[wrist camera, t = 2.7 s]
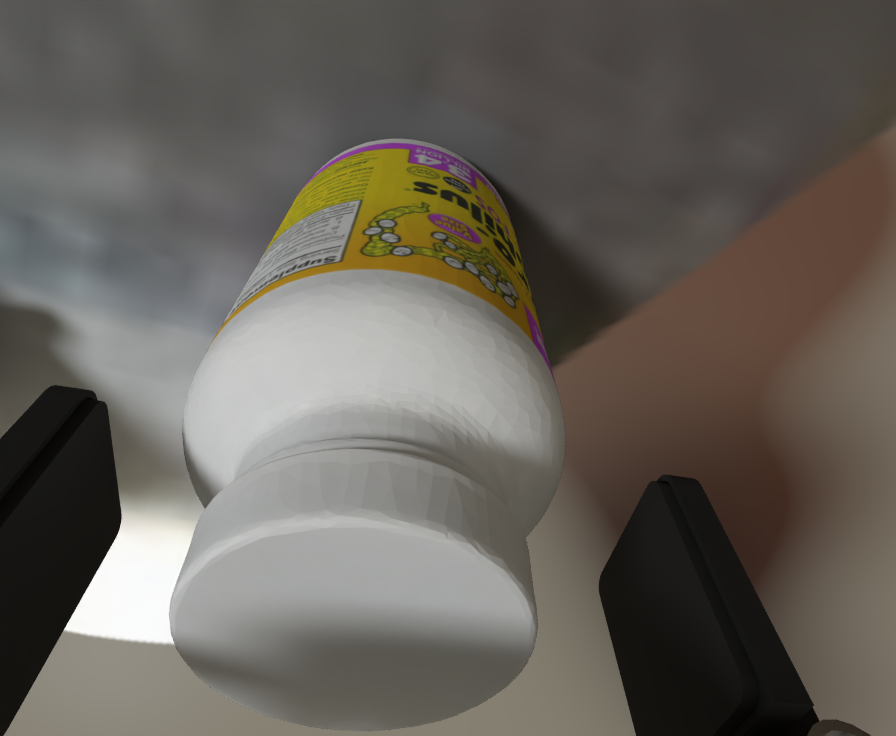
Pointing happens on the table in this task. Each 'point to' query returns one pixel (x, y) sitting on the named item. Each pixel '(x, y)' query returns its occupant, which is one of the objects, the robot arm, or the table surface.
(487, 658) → the supplement bottle
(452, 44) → the table surface
